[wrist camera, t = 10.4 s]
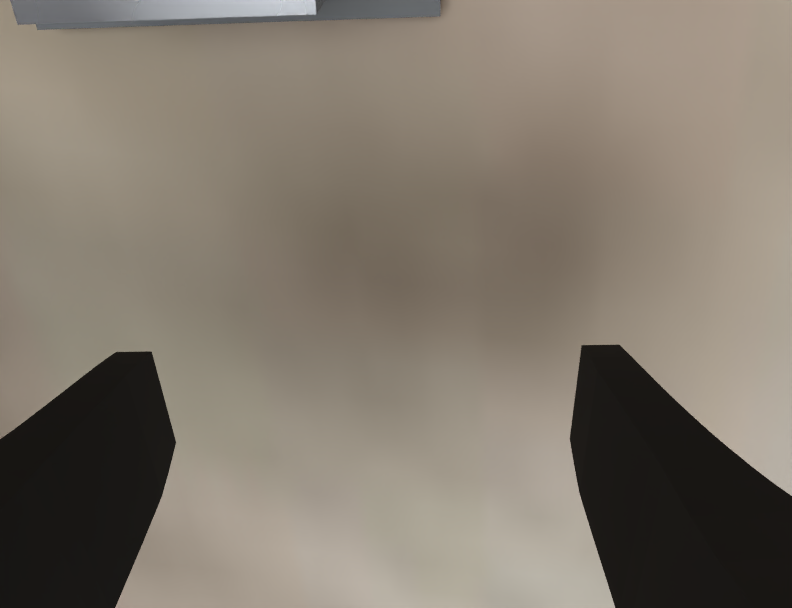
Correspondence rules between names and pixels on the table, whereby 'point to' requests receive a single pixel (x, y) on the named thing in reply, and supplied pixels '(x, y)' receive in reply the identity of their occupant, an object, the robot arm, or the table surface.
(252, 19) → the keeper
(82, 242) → the table surface
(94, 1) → the link
